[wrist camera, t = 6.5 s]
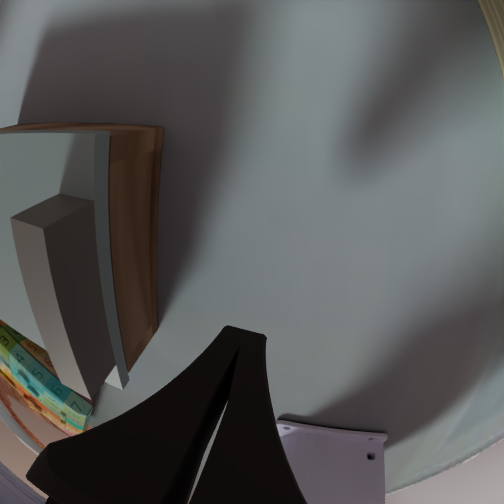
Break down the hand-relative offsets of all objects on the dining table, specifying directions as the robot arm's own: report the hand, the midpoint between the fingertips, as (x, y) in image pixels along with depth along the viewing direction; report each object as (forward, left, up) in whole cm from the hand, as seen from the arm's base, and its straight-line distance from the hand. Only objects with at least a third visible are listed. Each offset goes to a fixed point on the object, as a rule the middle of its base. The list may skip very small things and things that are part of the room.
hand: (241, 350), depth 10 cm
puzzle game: (+24, +19, -6) cm, 31 cm away
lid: (+12, 0, -1) cm, 12 cm away
